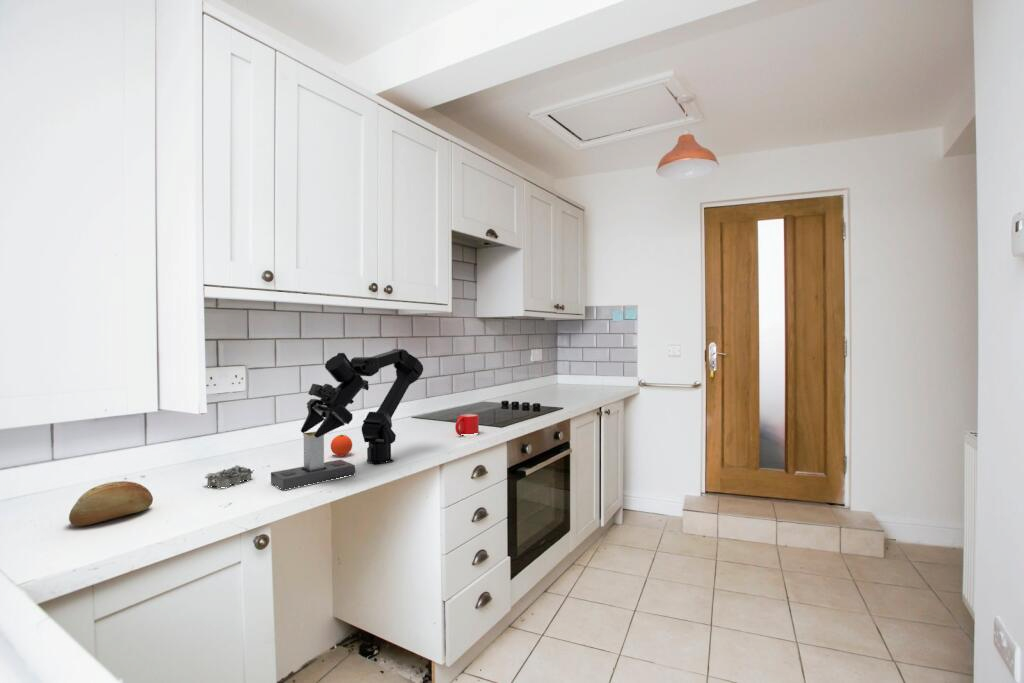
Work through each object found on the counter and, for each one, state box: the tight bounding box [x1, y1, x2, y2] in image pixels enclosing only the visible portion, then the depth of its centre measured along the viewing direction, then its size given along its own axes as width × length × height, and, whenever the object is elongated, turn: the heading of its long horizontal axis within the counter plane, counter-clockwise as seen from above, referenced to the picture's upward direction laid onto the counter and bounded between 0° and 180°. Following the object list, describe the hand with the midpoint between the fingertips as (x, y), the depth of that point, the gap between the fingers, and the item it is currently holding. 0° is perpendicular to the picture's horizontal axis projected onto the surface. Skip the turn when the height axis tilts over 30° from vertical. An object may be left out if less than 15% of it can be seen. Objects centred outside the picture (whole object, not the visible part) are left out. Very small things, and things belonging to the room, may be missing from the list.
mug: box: [455, 413, 480, 436], centre depth 201 cm, size 8×12×8 cm, turn 148°
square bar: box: [302, 431, 325, 473], centre depth 140 cm, size 4×4×13 cm
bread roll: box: [68, 480, 154, 527], centre depth 111 cm, size 10×15×8 cm, turn 145°
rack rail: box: [270, 459, 356, 491], centre depth 140 cm, size 20×9×3 cm, turn 134°
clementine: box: [330, 434, 353, 457], centre depth 168 cm, size 8×7×7 cm
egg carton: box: [204, 464, 255, 489], centre depth 137 cm, size 11×8×4 cm
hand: (308, 434), depth 139 cm, fingers open, 9 cm apart
